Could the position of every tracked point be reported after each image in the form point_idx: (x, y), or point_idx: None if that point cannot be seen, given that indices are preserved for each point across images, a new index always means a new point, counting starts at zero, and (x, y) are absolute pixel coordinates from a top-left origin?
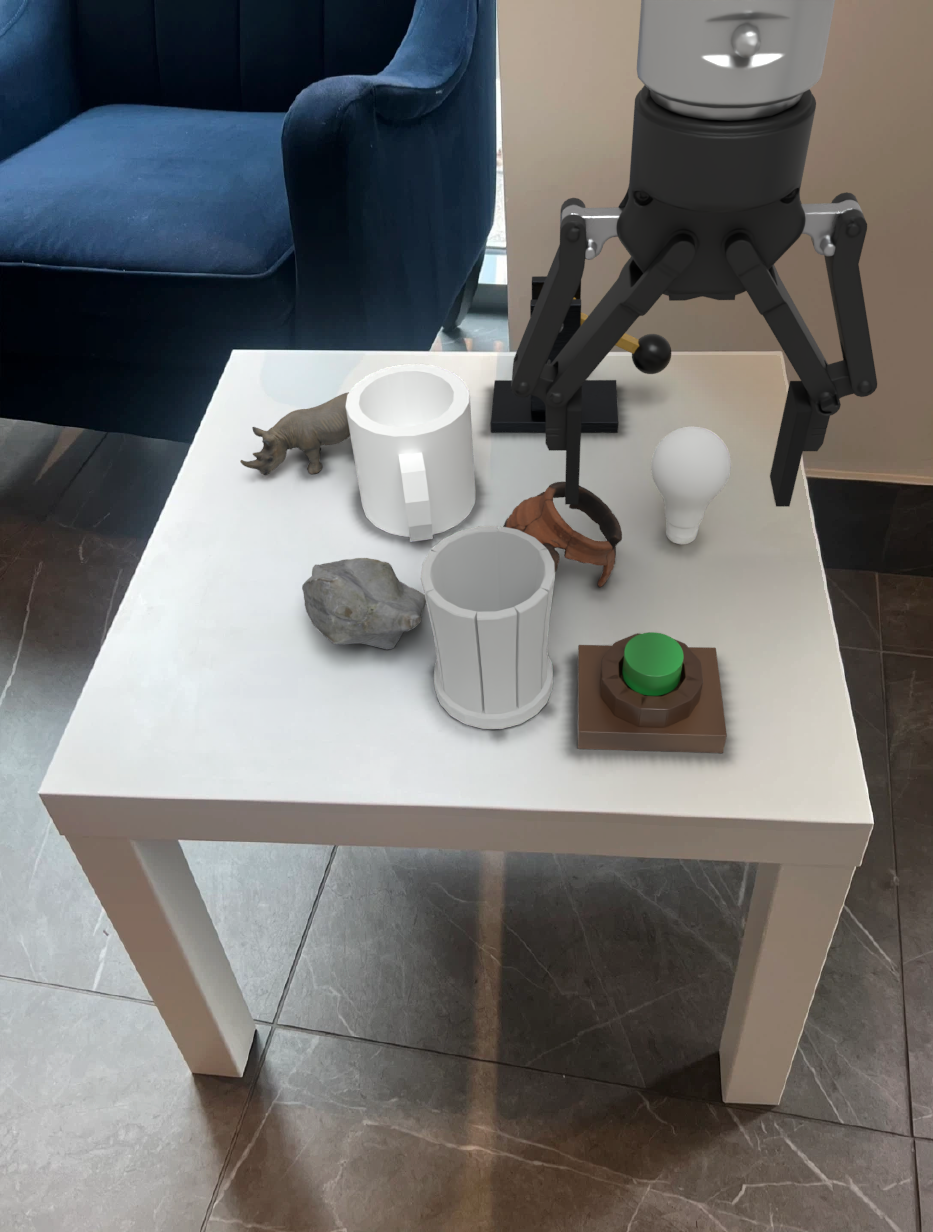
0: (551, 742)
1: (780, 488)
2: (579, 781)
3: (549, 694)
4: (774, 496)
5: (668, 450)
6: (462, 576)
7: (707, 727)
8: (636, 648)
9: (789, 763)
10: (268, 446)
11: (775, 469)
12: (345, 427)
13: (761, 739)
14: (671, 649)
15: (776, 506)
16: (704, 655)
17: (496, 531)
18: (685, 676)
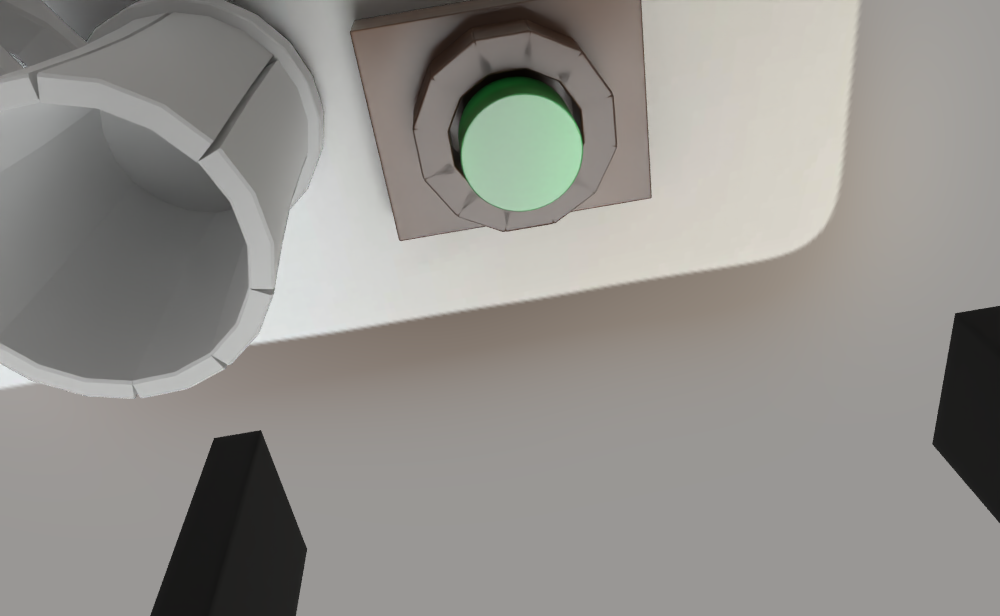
0: (353, 216)
1: (979, 498)
2: (416, 275)
3: (322, 135)
4: (941, 415)
5: None
6: (18, 119)
7: (619, 188)
8: (484, 147)
9: (744, 175)
10: None
11: (993, 406)
12: None
13: (705, 137)
14: (557, 135)
15: (934, 442)
16: (616, 11)
17: (37, 101)
18: (583, 138)
